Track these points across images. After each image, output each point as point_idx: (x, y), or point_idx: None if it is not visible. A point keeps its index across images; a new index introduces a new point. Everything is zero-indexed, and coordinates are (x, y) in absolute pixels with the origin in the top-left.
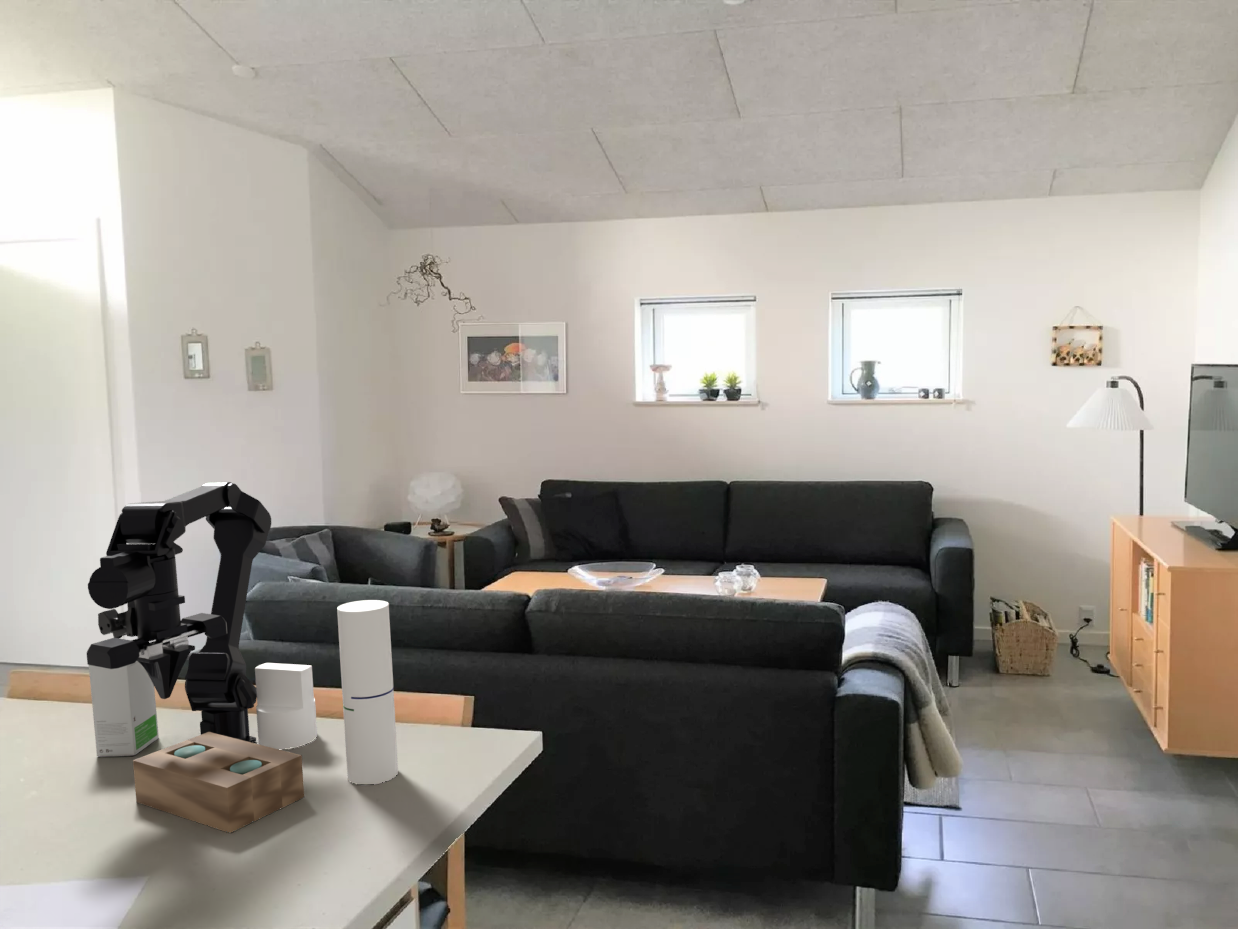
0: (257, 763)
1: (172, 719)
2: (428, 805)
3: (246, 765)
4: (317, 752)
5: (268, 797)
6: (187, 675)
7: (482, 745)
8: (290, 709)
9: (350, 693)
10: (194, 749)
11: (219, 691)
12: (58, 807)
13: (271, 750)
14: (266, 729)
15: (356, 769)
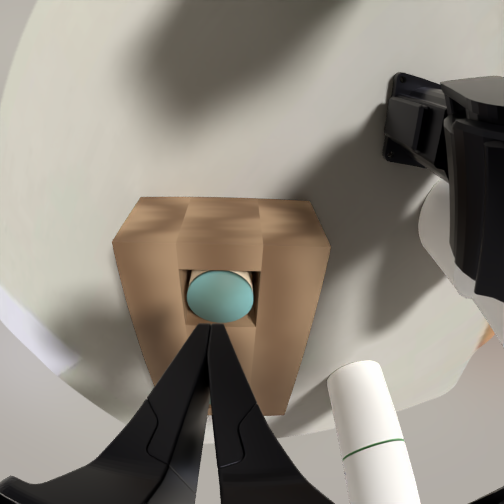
0: None
1: None
2: (303, 424)
3: None
4: (414, 291)
5: None
6: (500, 155)
7: (428, 387)
8: (468, 286)
9: (346, 478)
10: (229, 303)
11: (456, 247)
12: (56, 92)
13: (284, 390)
14: (439, 236)
15: (330, 396)
